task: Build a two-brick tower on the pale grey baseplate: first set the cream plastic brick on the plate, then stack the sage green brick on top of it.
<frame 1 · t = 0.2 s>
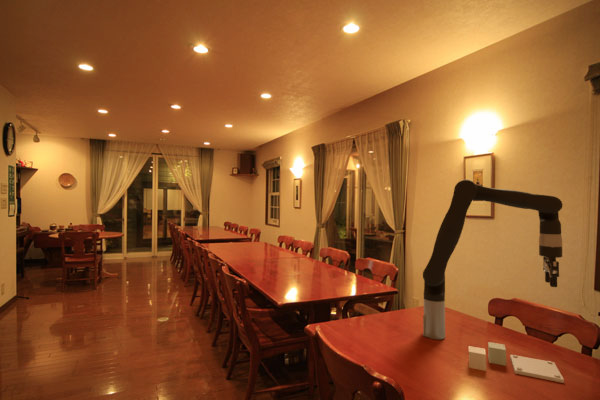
hand: (551, 284, 131), 29 cm above the table, fingers open, 8 cm apart
cream brick: (477, 366, 121), on the table
baseplate: (535, 369, 119), on the table
sage brick: (497, 361, 125), on the table
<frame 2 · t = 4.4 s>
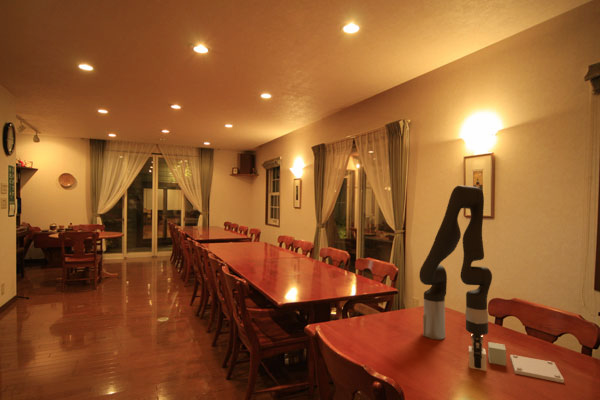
hand: (477, 363, 121), 1 cm above the table, fingers closed on cream brick, 5 cm apart
cream brick: (477, 365, 121), on the table, touching gripper
everything else where it was.
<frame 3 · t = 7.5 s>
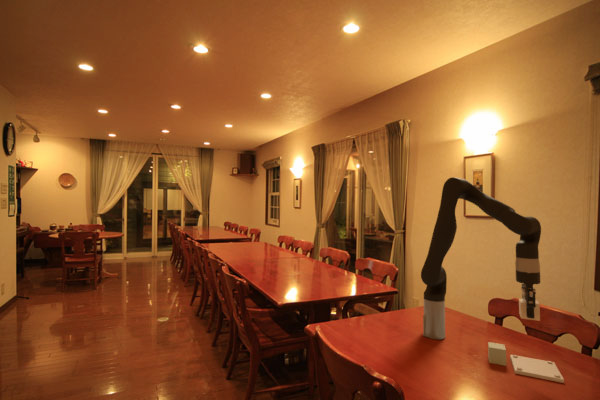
hand: (529, 315, 119), 20 cm above the table, fingers closed on cream brick, 5 cm apart
cream brick: (529, 317, 119), point 19 cm above the table, touching gripper
everything else where it was.
when the fingers open (3 cm above the table, at t = 10.8 s): cream brick drops 1 cm, resting on baseplate.
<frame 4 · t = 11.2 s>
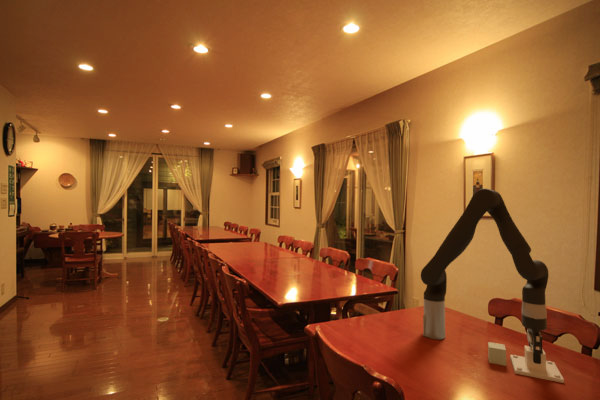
hand: (534, 358, 119), 4 cm above the table, fingers open, 8 cm apart
cream brick: (535, 366, 119), point 1 cm above the table, touching baseplate
everything else where it was.
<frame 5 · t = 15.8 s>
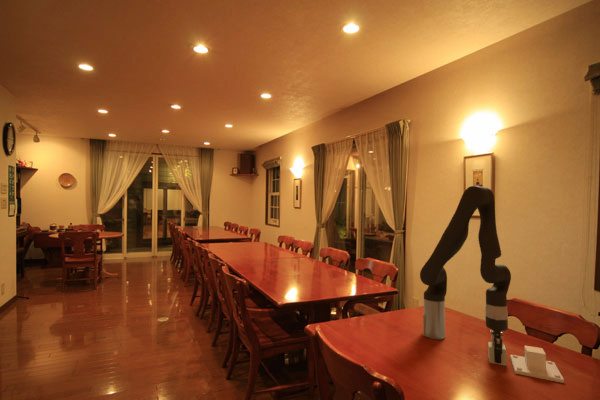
hand: (497, 359, 125), 1 cm above the table, fingers closed on sage brick, 5 cm apart
sage brick: (497, 361, 125), on the table, touching gripper
everything else where it was.
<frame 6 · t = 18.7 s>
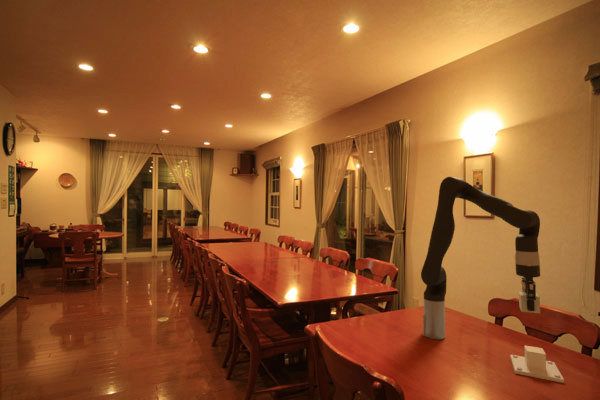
hand: (529, 308, 120), 22 cm above the table, fingers closed on sage brick, 5 cm apart
sage brick: (529, 310, 120), point 22 cm above the table, touching gripper
everything else where it was.
when the fingers open (9 cm above the table, at t = 21.7 s): sage brick drops 1 cm, resting on cream brick.
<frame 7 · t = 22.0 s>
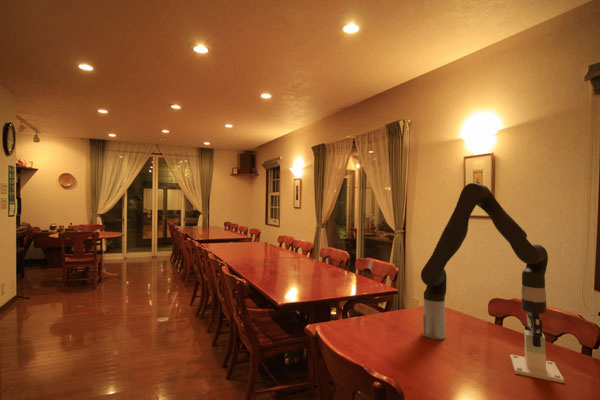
hand: (534, 342, 119), 10 cm above the table, fingers open, 8 cm apart
cream brick: (535, 366, 119), point 1 cm above the table, touching baseplate, sage brick
sage brick: (534, 349, 119), point 7 cm above the table, touching cream brick
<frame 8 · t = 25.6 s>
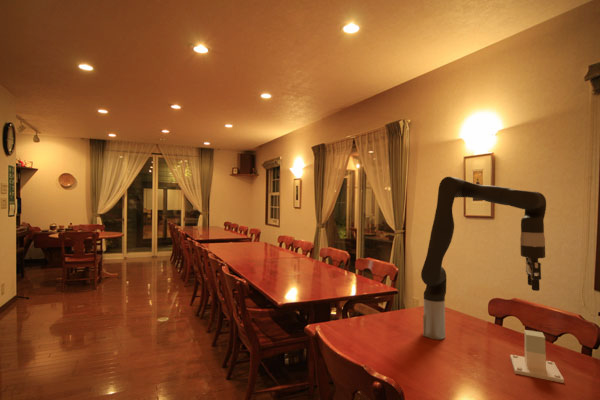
hand: (533, 287, 120), 30 cm above the table, fingers open, 8 cm apart
nothing on the table moved.
at the end: cream brick 0.0 cm off-centre on the baseplate, point 1.2 cm above the baseplate's base; sage brick 0.2 cm off-centre on the baseplate, point 7.2 cm above the baseplate's base; sage brick tilted 0° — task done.
